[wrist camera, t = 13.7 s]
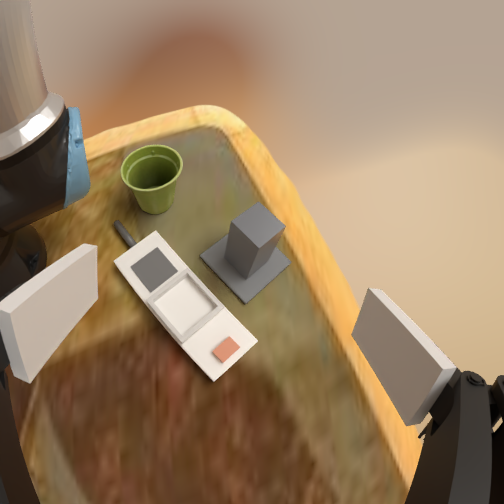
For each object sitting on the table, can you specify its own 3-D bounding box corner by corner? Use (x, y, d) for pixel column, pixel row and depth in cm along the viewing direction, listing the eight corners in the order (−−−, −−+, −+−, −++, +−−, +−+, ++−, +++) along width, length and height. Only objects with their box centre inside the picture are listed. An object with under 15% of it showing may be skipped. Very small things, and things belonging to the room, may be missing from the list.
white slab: (98, 240, 42) (92, 229, 39) (137, 213, 45) (134, 201, 43) (213, 381, 36) (214, 381, 33) (255, 343, 39) (259, 339, 37)
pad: (199, 256, 44) (199, 254, 43) (246, 221, 48) (247, 219, 48) (245, 304, 42) (246, 303, 41) (290, 263, 46) (291, 261, 45)
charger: (223, 257, 44) (230, 220, 35) (246, 239, 46) (258, 201, 37) (246, 280, 43) (259, 248, 34) (268, 260, 45) (285, 226, 36)
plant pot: (190, 213, 47) (190, 178, 40) (136, 231, 44) (126, 198, 36) (174, 174, 50) (172, 138, 43) (125, 189, 47) (116, 154, 40)
